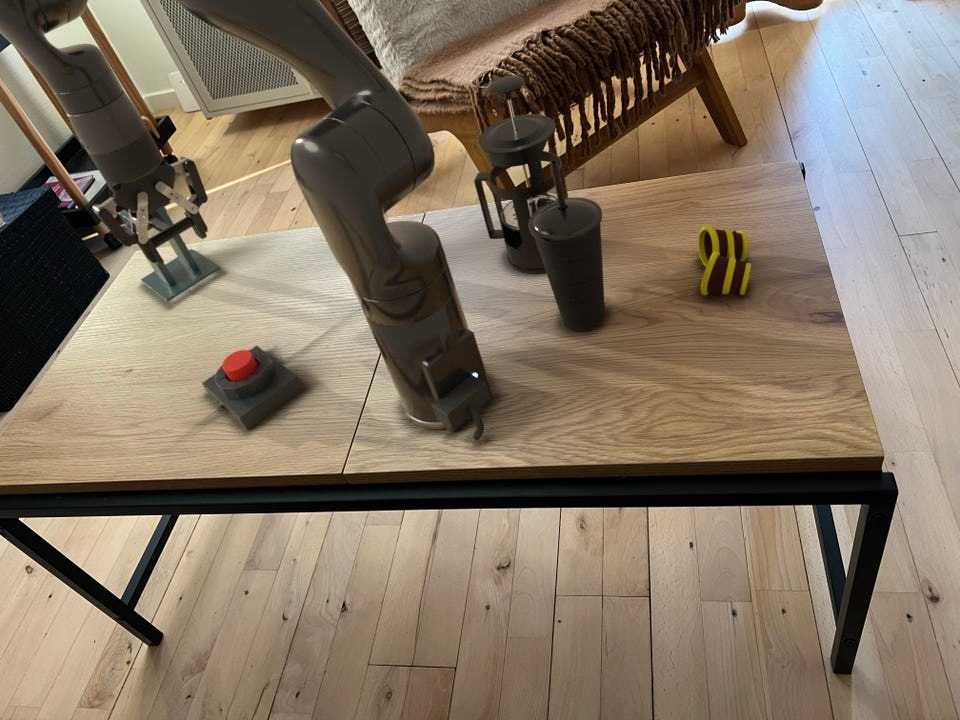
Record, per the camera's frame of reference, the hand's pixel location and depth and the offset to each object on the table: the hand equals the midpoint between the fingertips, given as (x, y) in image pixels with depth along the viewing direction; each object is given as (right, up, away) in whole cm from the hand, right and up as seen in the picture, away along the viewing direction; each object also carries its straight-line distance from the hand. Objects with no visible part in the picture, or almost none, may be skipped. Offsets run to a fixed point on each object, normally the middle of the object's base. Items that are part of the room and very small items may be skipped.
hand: (181, 248), depth 105 cm
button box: (+14, -19, -12) cm, 26 cm away
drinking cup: (+52, -10, -16) cm, 56 cm away
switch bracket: (-4, -3, +12) cm, 13 cm away
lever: (-4, +3, +3) cm, 5 cm away
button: (+13, -16, -15) cm, 25 cm away
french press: (+48, -1, -4) cm, 48 cm away
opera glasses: (+68, -6, -17) cm, 71 cm away
